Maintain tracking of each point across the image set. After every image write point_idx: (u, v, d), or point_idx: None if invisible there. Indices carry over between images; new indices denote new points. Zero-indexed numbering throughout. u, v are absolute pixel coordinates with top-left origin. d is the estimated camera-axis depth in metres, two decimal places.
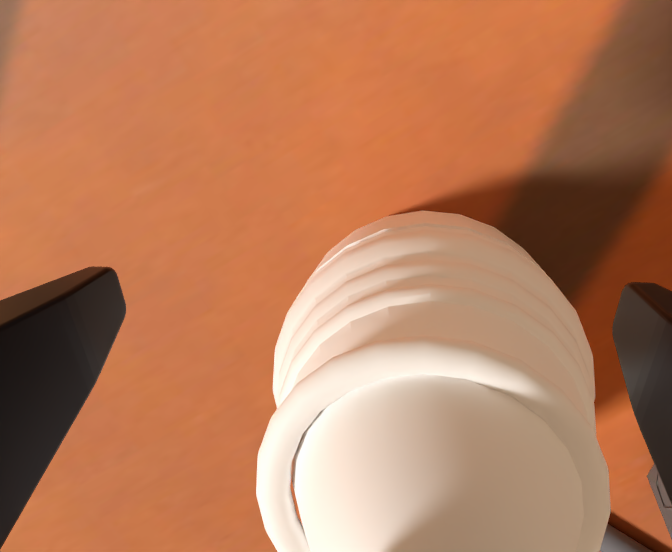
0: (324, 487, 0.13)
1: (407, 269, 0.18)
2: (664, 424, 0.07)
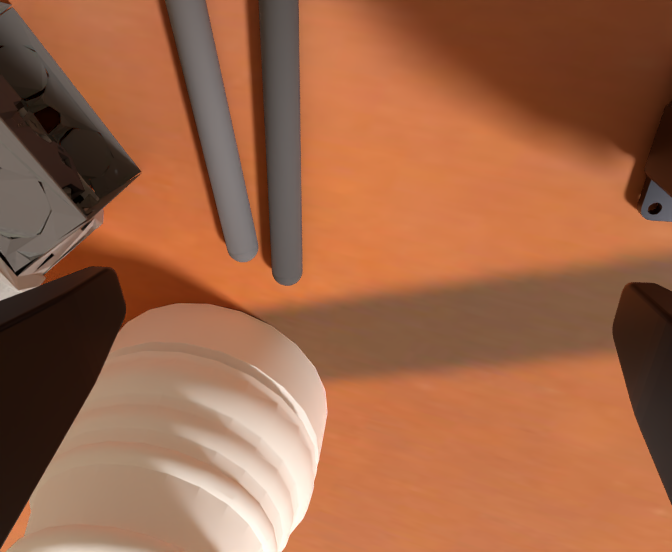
0: None
1: None
2: (664, 424, 0.07)
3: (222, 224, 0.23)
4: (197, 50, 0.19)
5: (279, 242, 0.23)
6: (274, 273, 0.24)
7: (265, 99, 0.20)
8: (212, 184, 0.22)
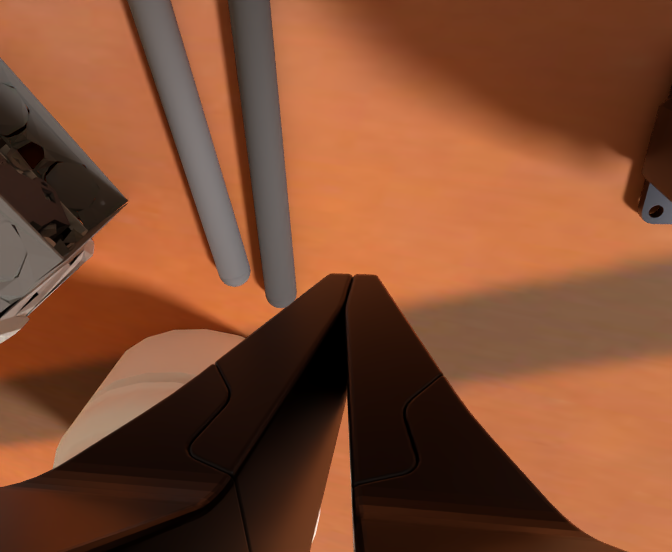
0: None
1: None
2: None
3: (211, 250, 0.22)
4: (172, 78, 0.19)
5: (270, 265, 0.22)
6: (267, 296, 0.23)
7: (245, 123, 0.19)
8: (198, 210, 0.21)
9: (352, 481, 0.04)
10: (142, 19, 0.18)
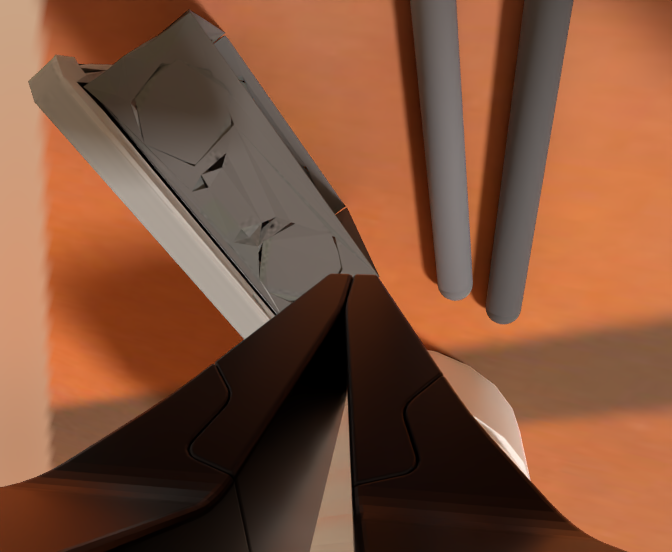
0: None
1: None
2: None
3: (440, 261, 0.20)
4: (447, 71, 0.17)
5: (506, 278, 0.20)
6: (492, 311, 0.21)
7: (517, 121, 0.17)
8: (436, 218, 0.19)
9: (352, 481, 0.04)
10: (428, 4, 0.16)
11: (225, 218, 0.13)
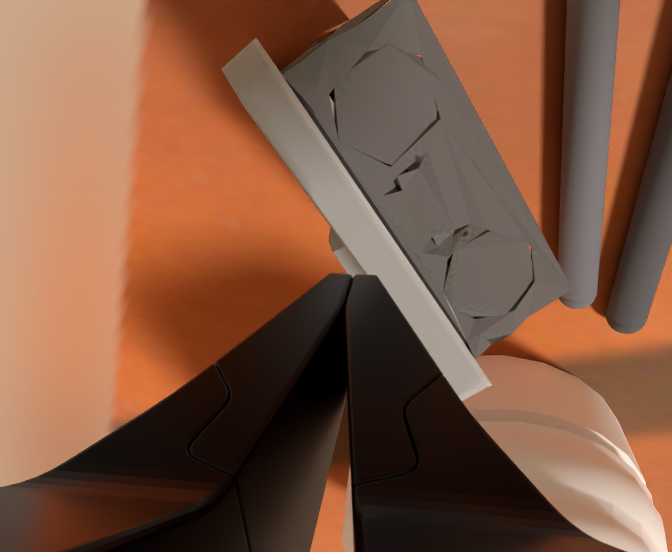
0: None
1: None
2: None
3: (568, 267, 0.19)
4: (606, 61, 0.15)
5: (639, 285, 0.19)
6: (617, 320, 0.20)
7: None
8: (570, 221, 0.18)
9: (352, 481, 0.04)
10: None
11: (416, 225, 0.11)
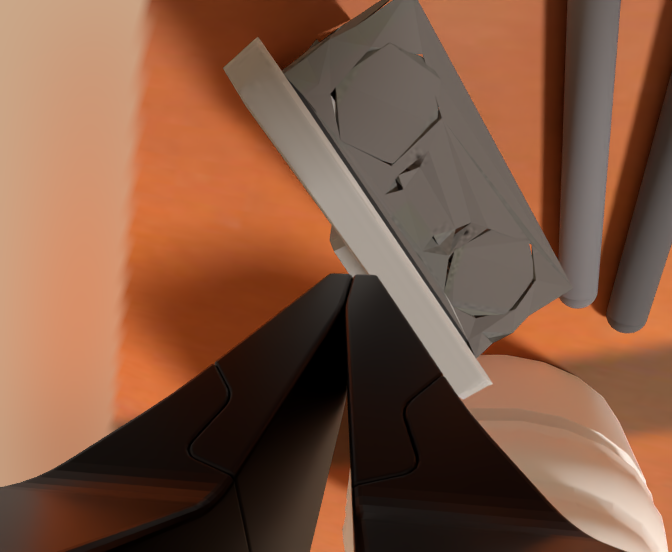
0: None
1: None
2: None
3: (568, 266, 0.19)
4: (607, 60, 0.15)
5: (640, 284, 0.19)
6: (618, 320, 0.20)
7: None
8: (570, 220, 0.18)
9: (352, 481, 0.04)
10: None
11: (417, 224, 0.11)
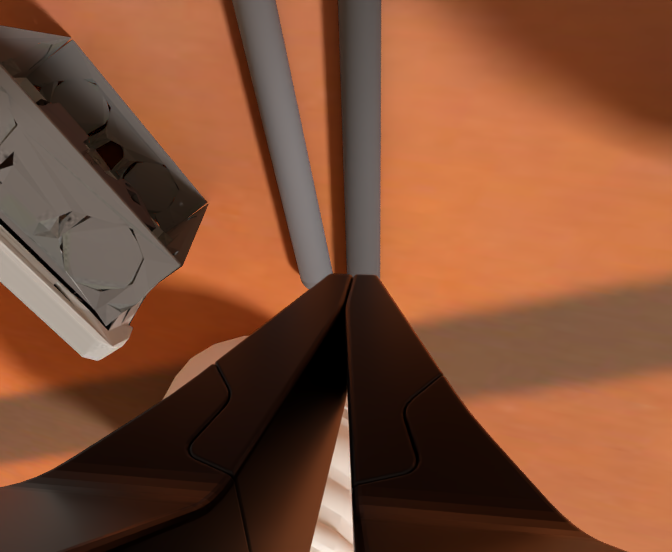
0: None
1: None
2: None
3: (296, 253, 0.21)
4: (273, 73, 0.18)
5: (358, 268, 0.21)
6: None
7: (345, 120, 0.18)
8: (286, 212, 0.21)
9: (352, 481, 0.04)
10: (246, 11, 0.17)
11: (22, 212, 0.14)
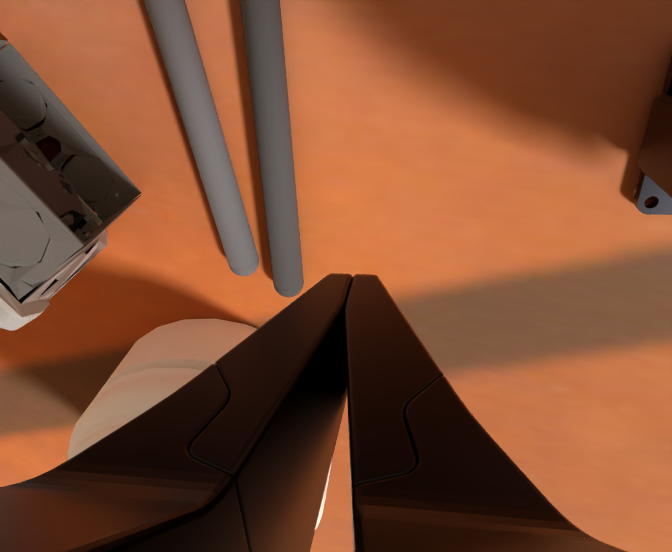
0: None
1: None
2: None
3: (222, 240, 0.23)
4: (186, 73, 0.19)
5: (278, 255, 0.23)
6: (275, 285, 0.24)
7: (255, 116, 0.20)
8: (209, 202, 0.22)
9: (352, 481, 0.04)
10: (157, 17, 0.19)
11: None
